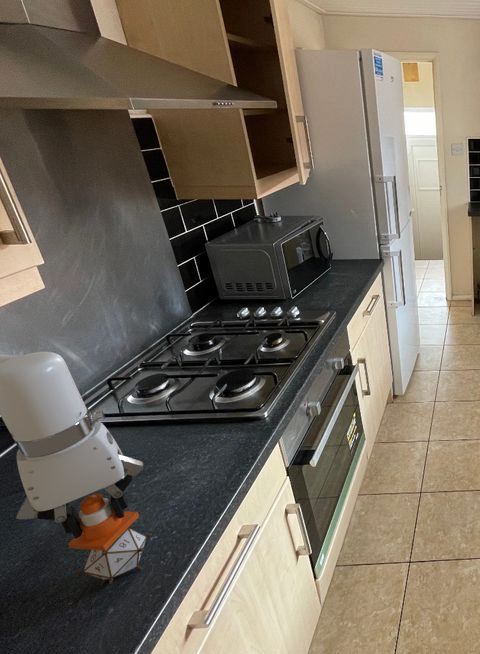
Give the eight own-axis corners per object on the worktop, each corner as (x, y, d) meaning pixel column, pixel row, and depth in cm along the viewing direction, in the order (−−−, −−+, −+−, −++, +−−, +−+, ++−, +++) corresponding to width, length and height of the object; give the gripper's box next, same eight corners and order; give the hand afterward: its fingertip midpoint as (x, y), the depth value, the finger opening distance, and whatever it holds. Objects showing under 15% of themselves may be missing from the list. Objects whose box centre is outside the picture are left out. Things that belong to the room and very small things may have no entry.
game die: (134, 590, 72) (109, 593, 64) (82, 579, 71) (49, 580, 63) (170, 531, 78) (151, 527, 70) (122, 519, 76) (97, 514, 69)
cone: (70, 548, 66) (50, 512, 63) (106, 514, 71) (90, 480, 69) (105, 550, 65) (87, 515, 63) (139, 516, 71) (124, 482, 68)
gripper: (131, 396, 69) (164, 479, 75) (-26, 447, 58) (28, 537, 65) (132, 420, 64) (168, 506, 70) (-41, 480, 53) (20, 575, 60)
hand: (100, 520), depth 68 cm, fingers closed on cone, 4 cm apart
